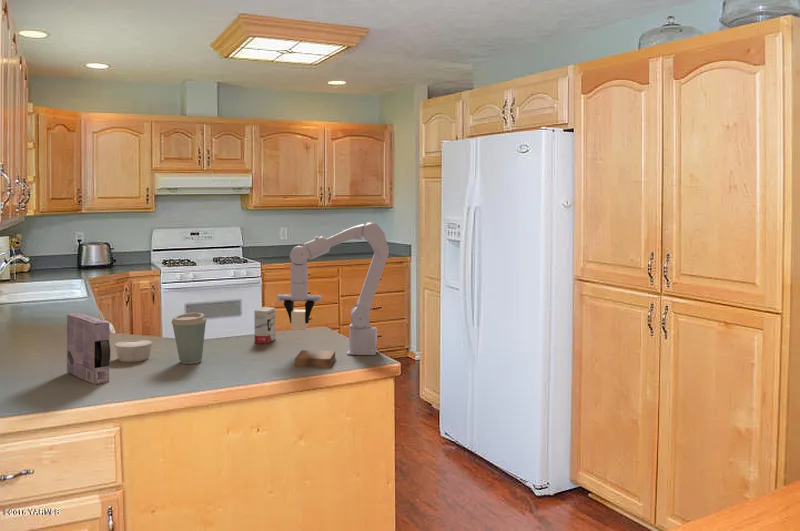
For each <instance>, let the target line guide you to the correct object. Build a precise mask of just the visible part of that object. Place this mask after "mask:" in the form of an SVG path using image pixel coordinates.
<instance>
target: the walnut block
mask: <svg viewBox="0 0 800 531" xmlns="http://www.w3.org/2000/svg"><path fill="white" fill-rule="evenodd" d="M335 360H336V351H335V350H315V349H314V350H311V349H310V350H309V349H308V350H304V349H303V350H300V352H299V353H298V354H297V355H296V357H294V367H302V368H303V367H306V368H331V366H332V365H333V363H334V362H333V361H335Z"/></svg>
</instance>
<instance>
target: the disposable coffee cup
mask: <svg viewBox="0 0 800 531" xmlns="http://www.w3.org/2000/svg"><path fill="white" fill-rule="evenodd" d="M206 323H207V318H206V317H205V314H204V313H202V312H186V313H181V314H178V315H175V316H174V317H172V319H171V325H172V329H173V335H174V339H175V344H176V345H175V346H176V348H177V354H178V359H179V361H180V363H181V364H182V365H183V364H184V365H191V364H192V365H193V364H197V363H200V362H201V361H202V360H203V352H204V351H203V350H204V343H205V333H206Z"/></svg>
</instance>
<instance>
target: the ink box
mask: <svg viewBox="0 0 800 531" xmlns="http://www.w3.org/2000/svg"><path fill="white" fill-rule="evenodd" d="M274 340H276V307H269V306H263V307H260V308H257V309H255V310H254V344H265V345H266V344H269V343H270V342H272V341H274Z"/></svg>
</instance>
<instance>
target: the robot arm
mask: <svg viewBox="0 0 800 531" xmlns="http://www.w3.org/2000/svg"><path fill="white" fill-rule="evenodd" d="M385 234H386V233H385V232H384V231H383V229H382V228H381V226H380V225H379V224H378V223H376V222H374V221H368V222H366V223H361V224H358V225H356V226H355V225H354V226H352V227H350V228H347V229H345V230H343V231H341V232H338V233H337V234H334V235H332V236H330V237H328V238H327V237H324V236H323V235H321V236H319V235H316V236H315V237H314V238H313V239H312V240H309V241H307V242H301V243H300V244H301V245H296V246H294V247H293V248H292V249H291V251H290V252H289V258H290V261H291V262H290V268H289V269H290V272H289V273H290V277H289V278H290V280H289V281H290V293H289V294H288V293H287V294H278V295H276V301H277V302H283V306H284V309H285V310H286V312H287V315H288V319H289V323H290V324H291V312H292V311H293V310H294V307H295V306H294V305H295V302H305V303H304V310H305V311H306V316H305V323H307V324H309V322H310V316H311V312H312V311H313V310H312V309H313V308H314V306H315V304H316V302H317V303H321V302H322V295H318V294H316V295H315V294H309V270H308V269H309V268H308V260H313V259H315V258H318V257H321V256H322V255H325V254H328V253H330V249H331V248H332V247H334V246H337V245H339V244H342V243H346V242H347V241H350V240H354V239H355V240H360V241H362V240H363V238H364V240H365V241H366V242H367V243H368V244H369V245H370V247H371V248H372V251H373V256H372V257H371V258H372V259H371V262H370V263H369V267H368V270H367V273H366V276H365V279H364V282H363V285H362V289H361V292H360V294H359V296H358V298H357V300H356V303H355V305H354V306H353V307H352V308H351V310H350V321H351V323H350V324H348V325H349V329H348V330H349V332H348V334H349V336H348V337H349V338H348V340H349V343H348V345H349V346H348V347H349V348H348V350H347V351H346V355H351V356H352V355H353V356H354V355H355V356H376V353H377V351H378V328H377V327H376V326H372V325H371V323H370V321H371V313H370V312H371V309H372V305H373V301H374V298H375V295H376V292H377V290H378V287H379V283H380V281H381V277H382V274H383V272H384V268H385V266H386V262H387V260H388V257H389V254H390V250H389V245H388V242H387V239H386V235H385ZM372 350H373V351H372Z"/></svg>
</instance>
